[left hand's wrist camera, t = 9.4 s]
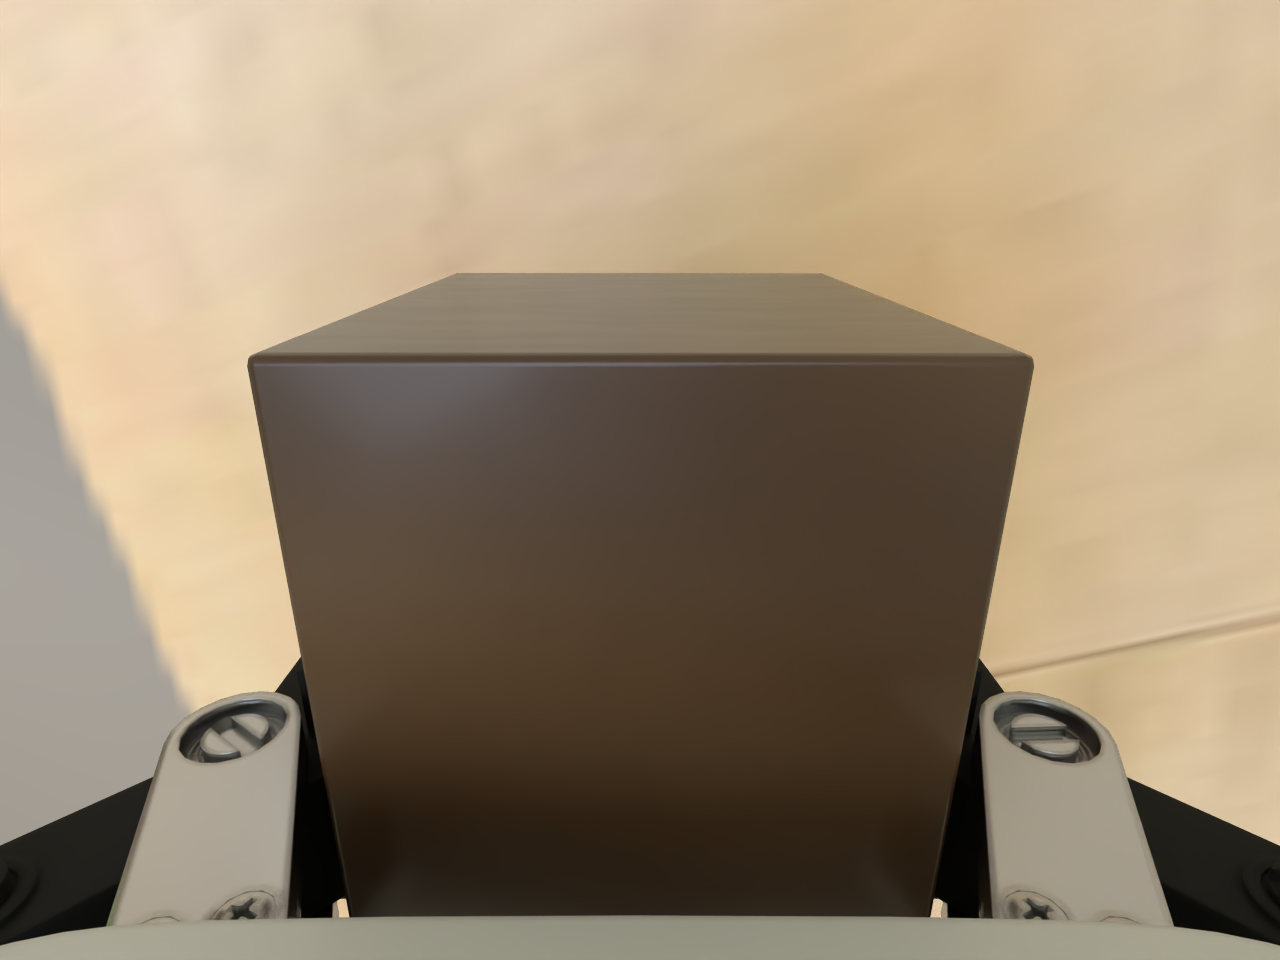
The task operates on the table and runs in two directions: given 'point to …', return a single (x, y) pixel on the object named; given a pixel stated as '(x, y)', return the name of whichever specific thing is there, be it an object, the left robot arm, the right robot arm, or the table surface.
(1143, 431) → the table surface
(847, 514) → the bar
